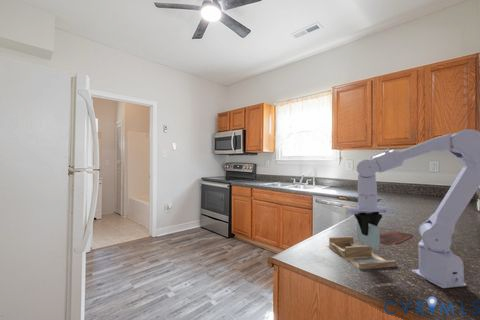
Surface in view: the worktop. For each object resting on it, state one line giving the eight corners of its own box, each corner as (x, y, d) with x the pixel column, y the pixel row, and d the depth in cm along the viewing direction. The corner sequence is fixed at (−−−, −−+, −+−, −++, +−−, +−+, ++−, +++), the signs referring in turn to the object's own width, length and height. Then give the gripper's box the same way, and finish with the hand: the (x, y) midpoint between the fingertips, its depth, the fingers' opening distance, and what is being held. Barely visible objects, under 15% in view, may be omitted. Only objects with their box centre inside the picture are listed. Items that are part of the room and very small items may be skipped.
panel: (379, 248, 71) (379, 226, 71) (374, 248, 71) (373, 227, 71) (362, 239, 79) (362, 220, 79) (357, 240, 79) (357, 220, 79)
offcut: (360, 249, 85) (360, 245, 85) (353, 250, 85) (353, 246, 85) (354, 246, 88) (354, 242, 88) (347, 246, 88) (347, 242, 88)
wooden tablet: (393, 228, 110) (417, 231, 102) (394, 233, 110) (418, 236, 101) (363, 238, 97) (387, 242, 88) (364, 243, 97) (388, 248, 88)
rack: (396, 267, 71) (396, 255, 71) (360, 271, 69) (360, 258, 69) (355, 245, 91) (355, 235, 91) (326, 247, 89) (326, 237, 89)
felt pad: (387, 265, 72) (387, 264, 72) (365, 267, 71) (365, 266, 71) (373, 257, 78) (373, 256, 78) (353, 259, 77) (353, 258, 77)
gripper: (377, 192, 80) (378, 229, 80) (340, 193, 78) (341, 232, 78) (393, 195, 73) (394, 236, 73) (354, 196, 71) (354, 238, 71)
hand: (368, 234), depth 75 cm, fingers closed on panel, 2 cm apart
